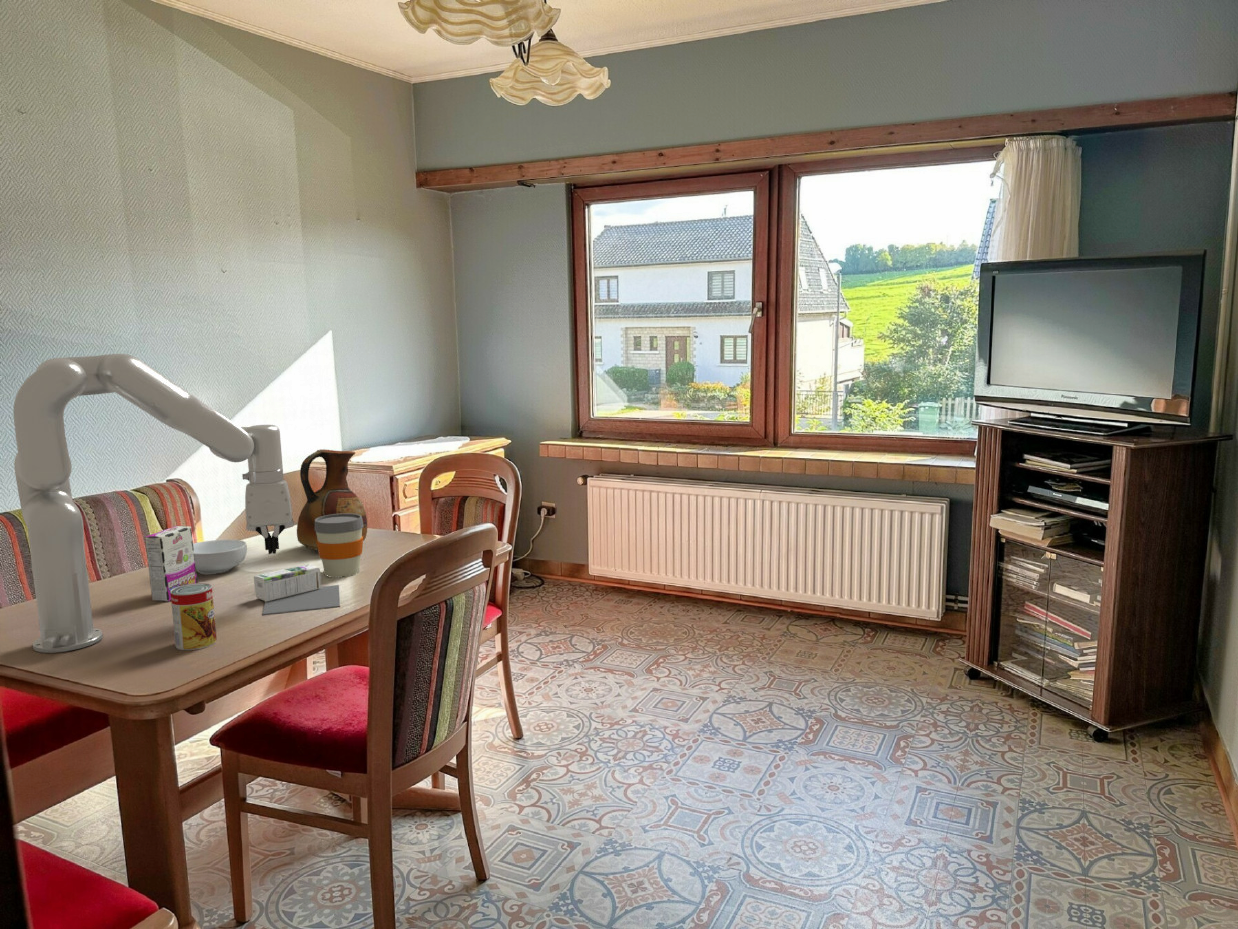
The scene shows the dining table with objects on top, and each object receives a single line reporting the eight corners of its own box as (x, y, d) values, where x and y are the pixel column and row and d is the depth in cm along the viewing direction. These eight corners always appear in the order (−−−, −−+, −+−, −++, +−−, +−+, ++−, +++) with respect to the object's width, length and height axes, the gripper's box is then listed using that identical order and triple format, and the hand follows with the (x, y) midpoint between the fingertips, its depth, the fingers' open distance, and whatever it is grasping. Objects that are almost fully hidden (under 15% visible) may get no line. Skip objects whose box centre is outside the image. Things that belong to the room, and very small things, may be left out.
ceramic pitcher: (380, 547, 264) (374, 448, 260) (316, 560, 251) (308, 456, 246) (349, 537, 279) (343, 443, 274) (287, 548, 265) (279, 450, 260)
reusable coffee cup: (357, 579, 232) (354, 523, 229) (310, 579, 232) (306, 523, 230) (372, 566, 244) (369, 513, 242) (327, 566, 244) (323, 513, 242)
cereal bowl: (254, 572, 240) (252, 547, 239) (187, 583, 231) (185, 556, 229) (241, 559, 254) (238, 535, 253) (177, 569, 244) (174, 544, 243)
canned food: (223, 642, 186) (218, 587, 184) (185, 653, 180) (180, 596, 178) (206, 634, 191) (201, 581, 189) (169, 644, 185) (163, 589, 183)
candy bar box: (181, 588, 226) (175, 525, 224) (198, 588, 225) (192, 526, 223) (150, 601, 215) (143, 535, 213) (168, 602, 214) (161, 536, 212)
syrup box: (253, 575, 215) (308, 562, 225) (255, 598, 216) (310, 584, 226) (263, 579, 211) (320, 566, 221) (266, 603, 212) (322, 588, 222)
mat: (339, 606, 209) (339, 605, 209) (262, 615, 203) (262, 613, 203) (338, 586, 226) (338, 584, 225) (267, 593, 220) (267, 592, 220)
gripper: (230, 482, 203) (237, 559, 206) (299, 477, 208) (305, 553, 210) (233, 477, 210) (240, 551, 213) (300, 472, 215) (305, 546, 217)
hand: (272, 552), depth 212 cm, fingers closed
